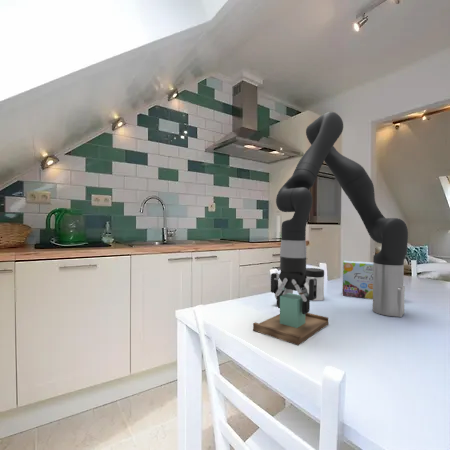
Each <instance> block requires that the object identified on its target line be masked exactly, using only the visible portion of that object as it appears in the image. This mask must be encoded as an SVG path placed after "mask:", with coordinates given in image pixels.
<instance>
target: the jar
mask: <svg viewBox="0 0 450 450" xmlns="http://www.w3.org/2000/svg"><path fill="white" fill-rule="evenodd" d="M306 277H307V278H311V279H313V278H316V279H317V297H316V299H314V300H312V301H315V302H316V301H324V297H325V295H324V293H325V270H324V269H323V268H315V267H306ZM304 285H305V287H306V289H307V292H308V294H309V286H308V283H307V282H306V283H305V284H304Z"/></svg>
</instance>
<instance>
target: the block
mask: <svg viewBox="0 0 450 450" xmlns="http://www.w3.org/2000/svg"><path fill="white" fill-rule="evenodd" d="M302 301H303V299H302V297H301V295H299V294H297V293H296V294H295V293H293V294H292V293H287V294H285V295H282V296H280V308H279V314H280V324H284V325H287V326H291V327H295V328H298V327H300V326H301V325H303V324H305V314H302Z"/></svg>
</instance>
